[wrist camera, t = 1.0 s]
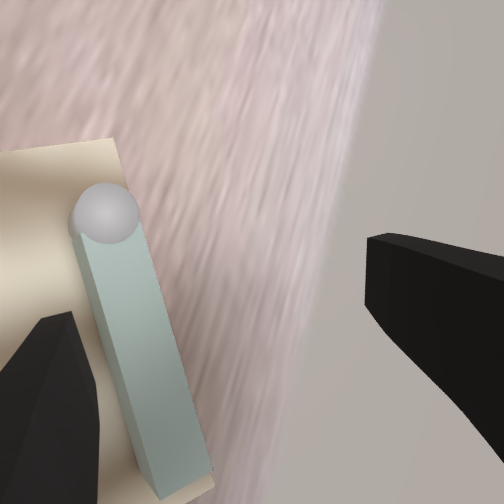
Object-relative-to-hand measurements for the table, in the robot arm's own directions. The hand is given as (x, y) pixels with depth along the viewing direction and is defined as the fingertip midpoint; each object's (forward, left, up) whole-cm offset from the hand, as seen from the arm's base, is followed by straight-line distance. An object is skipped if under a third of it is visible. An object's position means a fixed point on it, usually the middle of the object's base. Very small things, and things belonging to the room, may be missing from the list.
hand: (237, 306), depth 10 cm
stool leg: (-1, 0, -11) cm, 11 cm away
